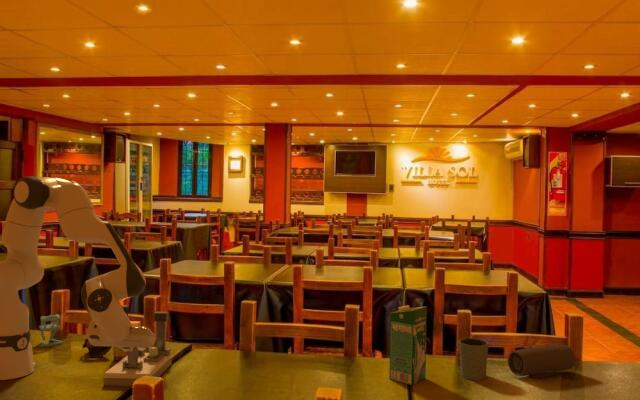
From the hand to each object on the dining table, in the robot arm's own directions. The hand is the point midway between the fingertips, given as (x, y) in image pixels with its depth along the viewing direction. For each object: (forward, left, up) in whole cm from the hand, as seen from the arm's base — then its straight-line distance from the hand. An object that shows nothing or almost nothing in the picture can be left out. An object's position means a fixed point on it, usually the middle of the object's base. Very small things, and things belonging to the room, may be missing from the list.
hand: (128, 349), depth 176 cm
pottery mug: (-31, +18, -12) cm, 38 cm away
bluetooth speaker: (+124, +68, -12) cm, 142 cm away
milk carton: (+82, +44, -12) cm, 94 cm away
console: (-3, +9, -11) cm, 15 cm away
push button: (-1, +13, -7) cm, 15 cm away
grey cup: (+102, +57, -12) cm, 117 cm away
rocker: (-10, +15, -6) cm, 19 cm away
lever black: (-2, +18, -6) cm, 19 cm away
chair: (-61, +22, -12) cm, 66 cm away
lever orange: (-1, +3, -6) cm, 7 cm away
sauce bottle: (-20, +19, -12) cm, 30 cm away
